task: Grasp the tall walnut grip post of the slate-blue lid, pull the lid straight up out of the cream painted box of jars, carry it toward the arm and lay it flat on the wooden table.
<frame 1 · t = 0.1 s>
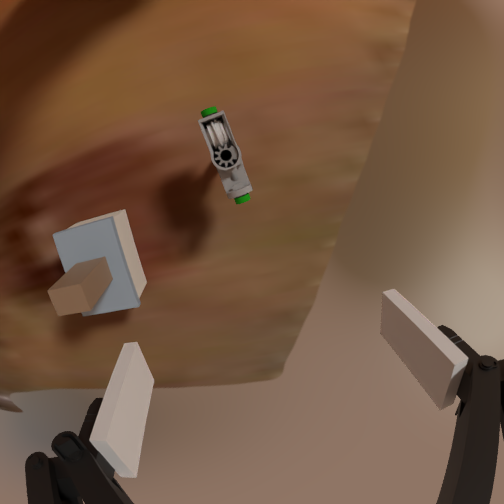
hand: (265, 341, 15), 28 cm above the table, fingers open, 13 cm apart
box: (110, 252, 41), on the table
mechanical component: (224, 153, 39), on the table
lid: (96, 268, 36), point 6 cm above the table, touching box
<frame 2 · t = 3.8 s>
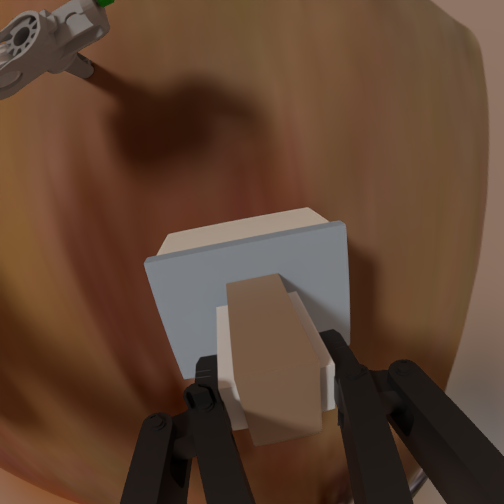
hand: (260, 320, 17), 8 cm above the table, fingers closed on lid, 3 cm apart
box: (247, 268, 25), on the table
mechanical component: (86, 70, 18), on the table
lid: (256, 303, 19), point 6 cm above the table, touching box, gripper
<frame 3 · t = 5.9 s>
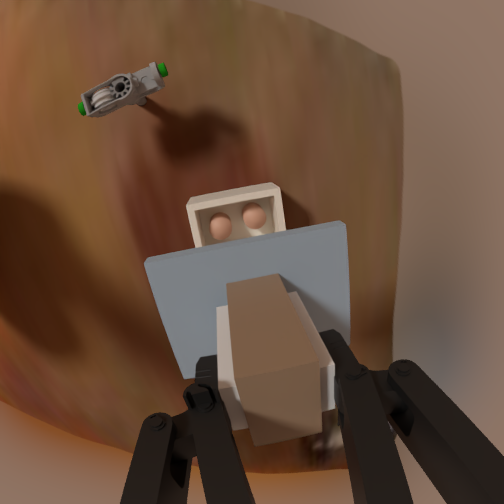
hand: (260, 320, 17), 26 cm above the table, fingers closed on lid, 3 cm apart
box: (236, 218, 42), on the table
mechanical component: (141, 100, 36), on the table
lid: (256, 303, 19), point 24 cm above the table, touching gripper
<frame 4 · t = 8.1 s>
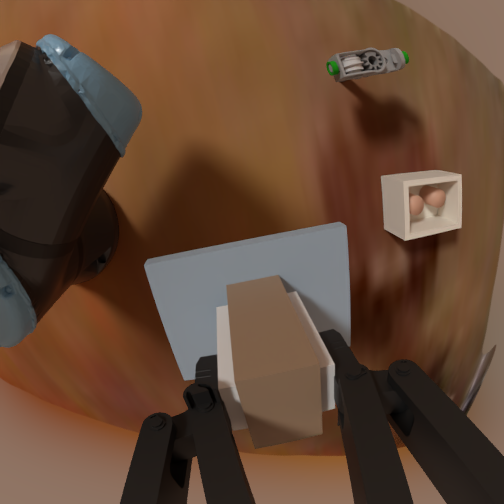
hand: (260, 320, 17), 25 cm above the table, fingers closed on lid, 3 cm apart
box: (412, 198, 42), on the table
mechanical component: (339, 76, 36), on the table
lid: (256, 305, 19), point 23 cm above the table, touching gripper
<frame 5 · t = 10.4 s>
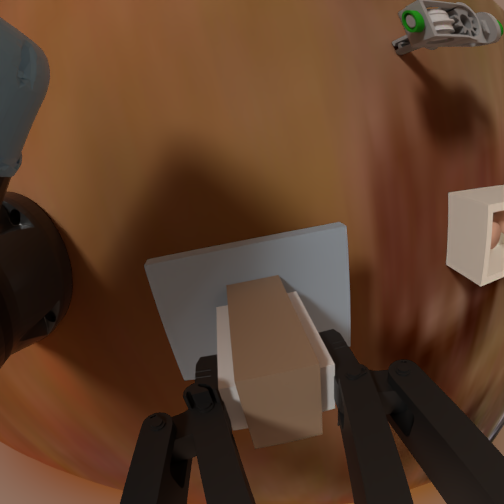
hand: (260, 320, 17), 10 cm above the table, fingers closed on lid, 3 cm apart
box: (479, 222, 28), on the table
mechanical component: (397, 48, 22), on the table
lid: (256, 305, 19), point 8 cm above the table, touching gripper
when the fingers open (5 cm above the table, at t = 12.2 s): lid drops 2 cm, point 1 cm above the table.
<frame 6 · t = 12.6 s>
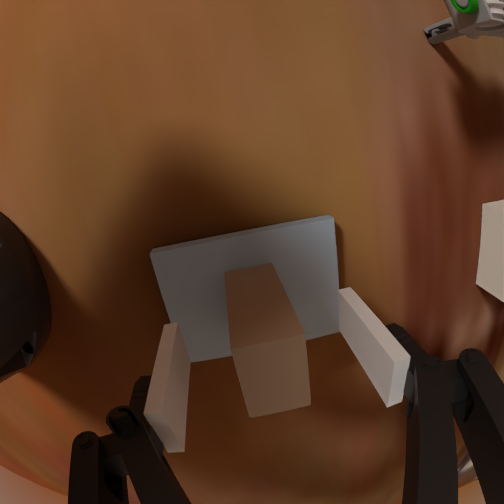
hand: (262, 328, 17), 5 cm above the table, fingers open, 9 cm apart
mechanical component: (429, 36, 17), on the table
lid: (252, 291, 21), point 1 cm above the table
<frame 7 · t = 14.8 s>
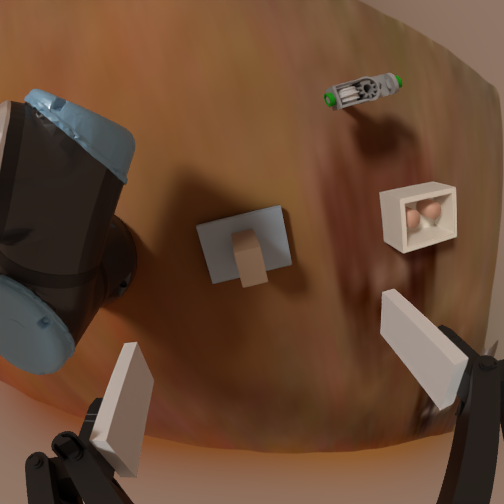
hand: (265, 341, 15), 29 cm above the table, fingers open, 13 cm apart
box: (409, 210, 45), on the table
mechanical component: (337, 99, 39), on the table
lid: (245, 244, 44), point 1 cm above the table
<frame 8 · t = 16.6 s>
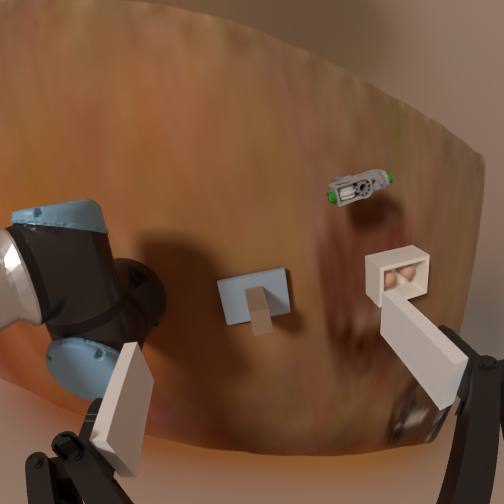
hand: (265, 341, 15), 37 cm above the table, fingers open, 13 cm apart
box: (389, 269, 57), on the table
mechanical component: (337, 180, 50), on the table
lid: (254, 295, 55), point 1 cm above the table
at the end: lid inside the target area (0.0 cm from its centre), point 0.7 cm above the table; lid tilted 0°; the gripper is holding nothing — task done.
